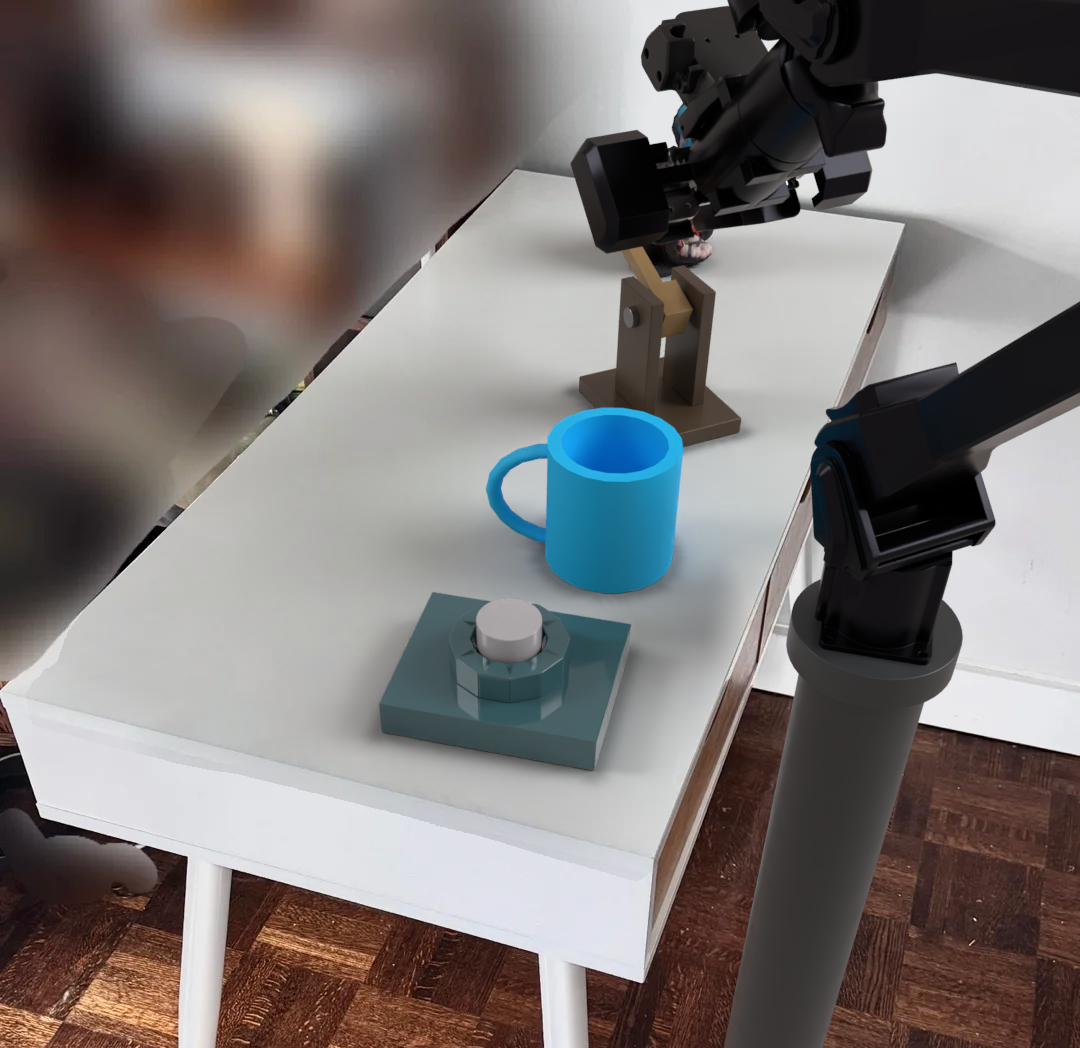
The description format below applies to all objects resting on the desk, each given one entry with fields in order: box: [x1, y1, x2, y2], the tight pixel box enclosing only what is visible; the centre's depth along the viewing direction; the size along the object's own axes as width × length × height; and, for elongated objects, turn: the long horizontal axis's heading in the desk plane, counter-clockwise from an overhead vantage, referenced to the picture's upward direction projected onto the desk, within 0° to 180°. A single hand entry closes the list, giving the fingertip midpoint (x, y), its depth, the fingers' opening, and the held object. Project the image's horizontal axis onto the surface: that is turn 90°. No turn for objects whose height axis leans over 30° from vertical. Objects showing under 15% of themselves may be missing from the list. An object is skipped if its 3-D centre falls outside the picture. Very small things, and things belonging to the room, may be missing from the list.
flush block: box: [378, 591, 632, 772], centre depth 74 cm, size 12×10×4 cm
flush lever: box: [621, 247, 693, 339], centre depth 94 cm, size 11×3×3 cm, turn 26°
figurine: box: [642, 103, 715, 278], centre depth 110 cm, size 10×7×15 cm
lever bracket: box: [578, 265, 742, 448], centre depth 94 cm, size 10×8×10 cm
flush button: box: [476, 597, 542, 664], centre depth 73 cm, size 4×4×2 cm
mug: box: [485, 408, 684, 594], centre depth 83 cm, size 12×8×8 cm
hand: (669, 228), depth 89 cm, fingers open, 4 cm apart
